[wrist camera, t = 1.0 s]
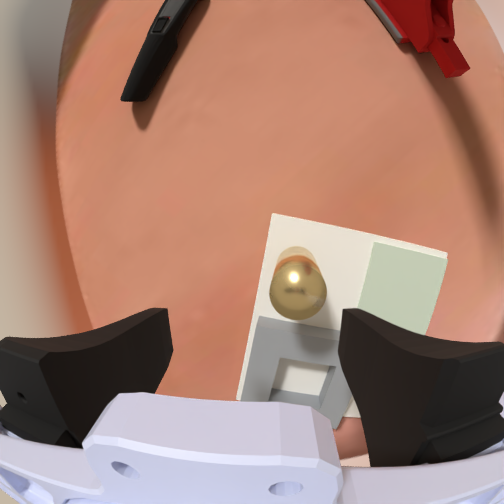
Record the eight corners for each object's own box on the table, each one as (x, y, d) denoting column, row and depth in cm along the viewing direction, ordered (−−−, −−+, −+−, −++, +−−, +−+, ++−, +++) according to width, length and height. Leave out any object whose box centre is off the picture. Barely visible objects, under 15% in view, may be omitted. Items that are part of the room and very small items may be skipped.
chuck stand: (442, 251, 21) (459, 256, 18) (382, 412, 24) (389, 431, 21) (272, 213, 22) (270, 214, 19) (237, 393, 25) (231, 412, 22)
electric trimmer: (123, 107, 23) (105, 98, 20) (182, -10, 20) (172, -26, 17) (154, 112, 23) (137, 102, 19) (213, -10, 19) (205, -27, 16)
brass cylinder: (319, 250, 21) (333, 271, 14) (311, 288, 22) (319, 324, 15) (280, 242, 21) (275, 259, 15) (272, 281, 22) (264, 314, 15)
